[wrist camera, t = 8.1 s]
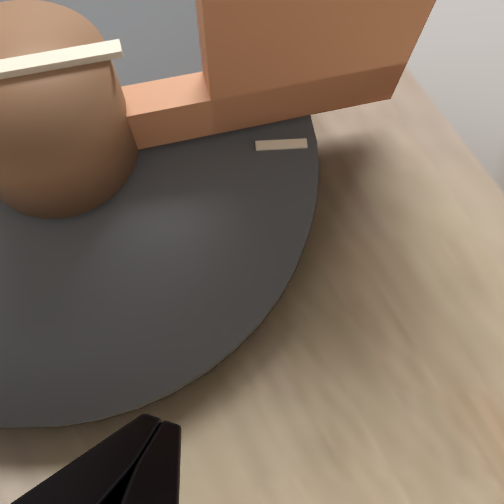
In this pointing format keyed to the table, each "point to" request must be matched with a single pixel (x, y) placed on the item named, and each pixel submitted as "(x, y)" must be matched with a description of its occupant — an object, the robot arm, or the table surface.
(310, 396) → the table surface
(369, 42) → the capstan
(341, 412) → the table surface
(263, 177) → the dial plate
